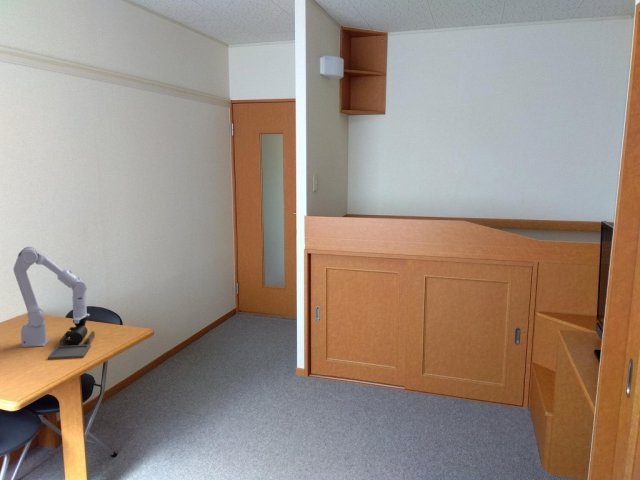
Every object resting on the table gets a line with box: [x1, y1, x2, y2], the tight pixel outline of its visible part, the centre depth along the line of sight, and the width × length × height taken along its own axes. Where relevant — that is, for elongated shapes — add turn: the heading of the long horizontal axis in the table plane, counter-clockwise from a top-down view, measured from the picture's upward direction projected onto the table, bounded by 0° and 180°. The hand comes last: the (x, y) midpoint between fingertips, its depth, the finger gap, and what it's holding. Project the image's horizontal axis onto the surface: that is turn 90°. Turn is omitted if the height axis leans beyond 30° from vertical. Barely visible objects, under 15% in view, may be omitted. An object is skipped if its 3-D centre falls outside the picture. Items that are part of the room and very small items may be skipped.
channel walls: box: [59, 331, 96, 346], centre depth 229 cm, size 12×10×3 cm
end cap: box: [65, 325, 89, 346], centre depth 228 cm, size 10×7×7 cm
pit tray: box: [47, 343, 92, 360], centre depth 217 cm, size 14×13×1 cm
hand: (80, 333), depth 235 cm, fingers closed
